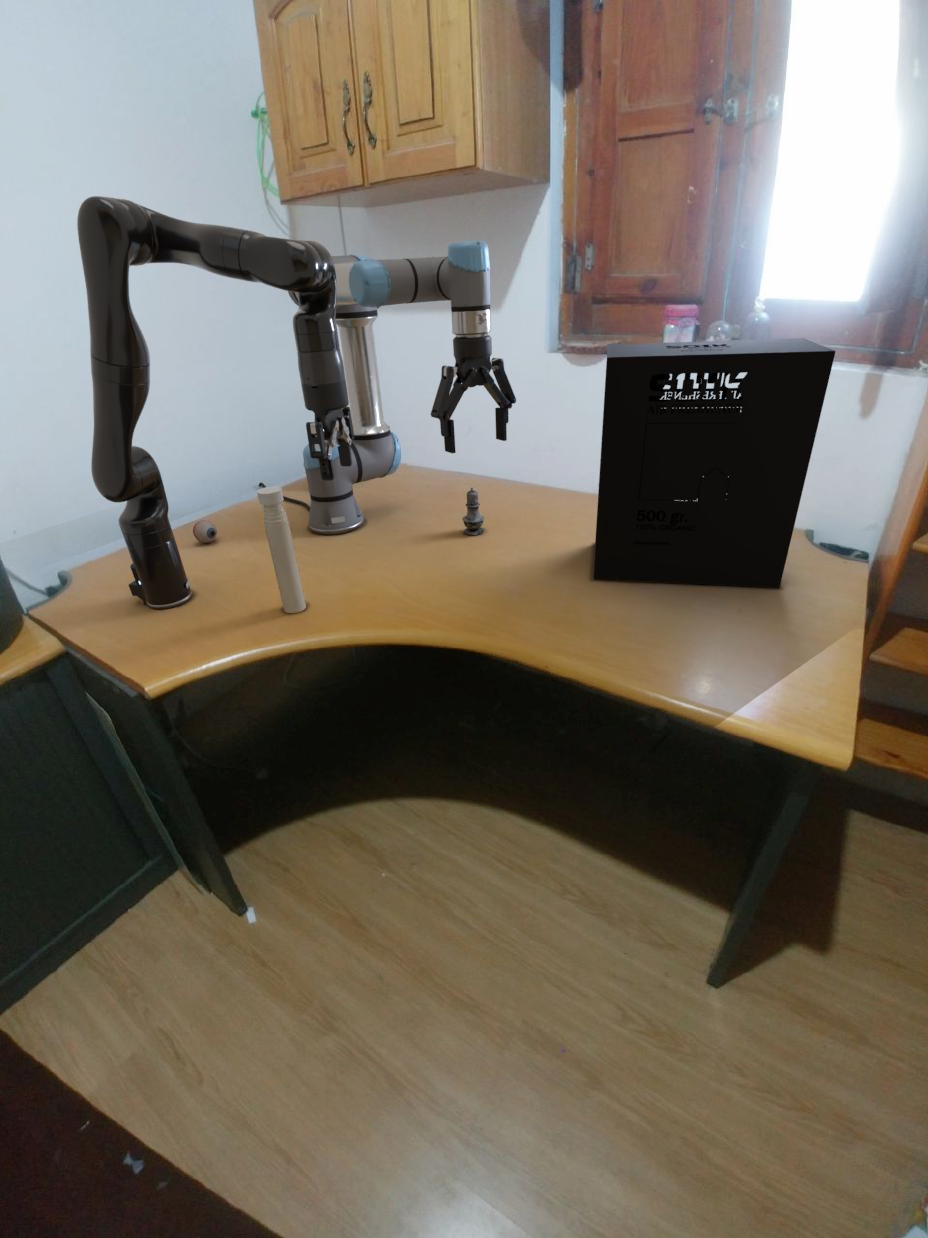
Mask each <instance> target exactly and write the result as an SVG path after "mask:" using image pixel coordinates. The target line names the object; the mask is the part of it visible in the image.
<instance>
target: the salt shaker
mask: <svg viewBox="0 0 928 1238" xmlns="http://www.w3.org/2000/svg"><path fill="white" fill-rule="evenodd" d="M465 507H466V511H467V512H466V515H465V516H463V517H462V518H461V520H462V522H463V524H464V527H465V529H464V530H463V533H464V534H465V535H468V536H477V535H481V534H483V533H484V531H485V530H484V528H482V526H483V524H484V520H485V516H484V515H481V513H480V503H479V494H478V492H477V490H474V488H473V487H470V490H469V491H467V492H466V503H465Z"/></svg>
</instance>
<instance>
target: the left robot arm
mask: <svg viewBox="0 0 928 1238" xmlns="http://www.w3.org/2000/svg"><path fill="white" fill-rule="evenodd" d="M76 218H77V222H76V224H77V225H76V227H77V235H78V244H79V251H80V257H81V258H80V259H81V264H82V269H83V276H84V283H85V289H86V298H87V299H86V300H87V313H88V325H89V340H90V341H89V342H90V343H89V344H90V345H89V348H90V349H89V350H90V351H89V352H90V372H91V380H92V381H91V383H92V407H93V408H92V409H93V411H92V413H93V435H92V449H91V464H90V469H91V476H92V481H93V484H94V486H95V488H96V489H97V491H98V493H99V494H100V495H101V496H102V497H103V498H104V499H106V500H107V501H109V502H112V503H124V502H126V504H125V507H124V509H123V511H122V512H121V513H120V515H119V517H118V525H119V529H120V532H121V533H122V537H123V539H124V542H125V545H126V547H127V550H128V554H129V556H130V558H131V561H132V563H131V564H130V567H129V568H130V571H131V574H132V575H133V579H134V580H133V581H131V582H130V583H129V584H128V588H129V590H130V594H131V596H132V597H138V598H139V599H140V600H142V604H143V605H145V606H147V607H148V608H150V609H153V610H165V609H171V608H175V607H178V606H181V605H182V604H185V603H186V602H188V601H190V599H191V598H192V597H193V591H192V589H191V586H190V583H191V580H190V578H188V577H187V574H186V570H185V567H184V564H183V561H182V557H181V554H180V551H179V548H178V545H177V541H176V538H175V535H174V532H173V528H172V525H171V522H170V518H169V501H168V498H167V494H166V489H165V486H164V482H163V477H162V475H161V471H160V469H159V465H158V464H157V462H156V460H155V459H154V457H153V456H152V455H151V454H150V453H149V452H148V451H147V450H146V449H145V448H143V447H141V446H137V445H133V438H134V434H135V429H136V426H137V425H138V422H139V419H140V417H141V415H142V413H143V410H144V409H145V405H146V402H147V401H148V397H149V394H150V393H149V392H150V387H151V356H150V350H149V346H148V344H147V340H146V338H145V335H144V334H143V331H142V329H141V327H140V325H139V323H138V321H137V319H136V317H135V315H134V311H133V308H132V304H131V299H130V279H129V278H130V267H133V266H134V267H137V266H143V265H147V264H181V265H186V266H191V267H195V268H198V269H202V270H203V271H205V272H209V273H211V274H214V275H218V276H221V277H224V278H225V277H226V278H229V279H235V280H239V281H245V282H250V283H258V284H264V285H266V286H268V287H272V288H275V289H279V290H283V291H286V292H288V291H290V292H296V293H298V300H299V306H298V309H297V311H296V312H295V313H294V314H293V317H292V329H293V337H294V343H295V346H296V351H297V352H296V354H297V367H298V368H297V369H298V374H299V379H300V384H301V391H302V395H303V396H302V397H303V402H304V408H305V409H306V410H307V411H311V412H313V414H314V421H307V422H306V423H305V428H306V436H307V442H308V444H309V449H310V456H311V458H316V459H318V460H319V465H320V470H321V476H322V479H323V480H333V479H334V478H335V475H334V468H333V462H332V459H331V455H332V448H333V447H335V444H336V443H337V445H340V446H338V453H339V459H340V465H341V466H348V467H349V466H351V465H352V456H351V449H350V445H351V439H354V430H353V424H352V418H351V412H350V406H349V405H350V404H349V397H348V390H347V383H346V376H345V369H344V362H343V355H342V351H341V348H340V347H341V345H340V340H339V339H340V338H339V333H338V332H339V331H338V326H337V325H336V320H335V314H336V292H337V282H336V271H335V266H334V263H333V260H332V257H331V256H332V255H331V253H330V252H329V250H328V249H327V248H326V247H325V246H324V245H322V244H321V243H319V242H317V241H314V240H303V239H302V240H301V239H300V240H299V239H291V238H281V237H276V236H267V235H265V234H263V233H260V232H256V231H253V230H248V229H244V228H238V227H233V226H226V225H220V224H210V223H198V222H193V221H188V220H183V219H179V218H175V217H173V216H169V215H167V214H165V213H161V212H159V211H156V210H153V209H151V208H148V207H146V206H144V205H141V204H138V203H137V202H134V201H132V200H129V199H126V198H117V197H110V196H101V195H93V196H89V197H87V198H86V199H84V201H82V203H81V204H80V207H79V209H78V213H77V217H76ZM348 429H349V430H348ZM315 444H316V451H315ZM326 447H327V450H326Z"/></svg>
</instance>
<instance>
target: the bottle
mask: <svg viewBox="0 0 928 1238" xmlns="http://www.w3.org/2000/svg"><path fill="white" fill-rule="evenodd" d="M262 506H263V507H262V517H263V526H264V530H265V535H266V539H267V543H268V548H269V551H270V556H271V560H272V561H271V562H272V565H273V569H274V573H275V578H276V582H277V587H278V590H279V595H280V599H281V604H282V608H283V611H284V612H285V613H287V614H297V613H301V612H302V611H304V610H305V609H306V608H307V603H306V598H305V593H304V588H303V584H302V578H301V574H300V569H299V565H298V560H297V559H298V558H297V554H296V550H295V545H294V541H293V535H292V531H291V526H290V521H289V519H288V515H287V512H286V510H285V508H284V505H283V503H282V502H280V503H278V504H274V505H262Z"/></svg>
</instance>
